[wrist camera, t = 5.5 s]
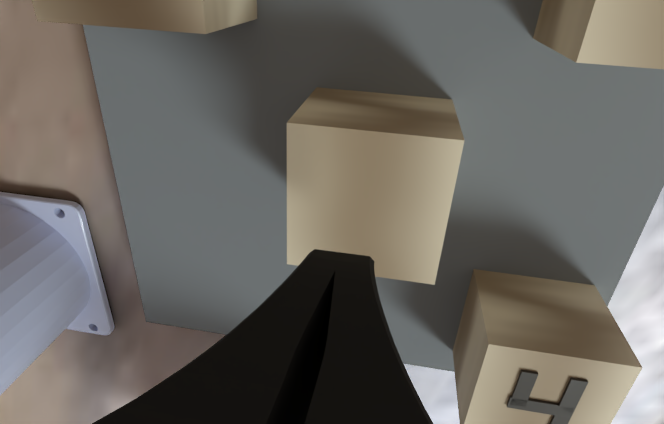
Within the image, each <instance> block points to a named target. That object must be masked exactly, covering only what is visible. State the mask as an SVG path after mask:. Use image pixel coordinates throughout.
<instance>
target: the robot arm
mask: <svg viewBox="0 0 664 424" xmlns="http://www.w3.org/2000/svg"><path fill="white" fill-rule="evenodd" d="M61 210H63V211H64V212H62V211H61ZM114 328H115V326H114V322H113V318H112V314H111V310H110V307H109V303H108V299H107V295H106V291H105V288H104V284H103V280H102V276H101V272H100V269H99V265H98V261H97V257H96V253H95V250H94V246H93V242H92V238H91V234H90V230H89V227H88V223H87V219H86V215H85V212H84V210H83V208H82V207H81V205H79V204H78V203H76V202H73V201H67V200H59V199H52V198H44V197H36V196H29V195H21V194H13V193H5V192H0V395H1V394H2V393H3V392H4V391H5V390H6V389H7V388H8V387H9V386H10V385H11V384H12V383H13V382H14V381H15V380H16V379H17V378H18V377H19V376H20V375H21V374H22V373H23V372H24V371H25V370H26V369H27V368H28V367H29V366H30V365H31V364H32V363H33V362H34V360H35V359H36V358H37V357H38V356H39V355H40V354H41V353H42V352H43V351H44V350H45V349H46V348H47V347H48V346H49V345H50V344H51V343H52V342H53V341H54V340H55V339H56V338H57V337H58V336H59V335H60V334H61V333H62V332H63V331H64V330H65V329H70V330H76V331H82V332H88V333H93V334H99V335H109V334H111V332H112V331H113V330H114ZM92 424H433V422H432V421H431V419H430V417H429V415H428V413H427V412H426V410H425V408H424V406H423V404H422V402H421V400H420V398H419V396H418V394H417V392H416V390H415V388H414V386H413V384H412V382H411V380H410V378H409V376H408V373H407V371H406V369H405V367H404V365H403V362H402V360H401V357H400V355H399V353H398V350H397V348H396V345H395V343H394V340H393V337H392V335H391V332H390V329H389V326H388V323H387V320H386V317H385V314H384V311H383V308H382V305H381V301H380V297H379V293H378V289H377V285H376V279H375V272H374V260H373V259H372V258H371V257H370V256H365V255H357V254H349V253H341V252H333V251H326V250H318V249H314V250H313V251H311V252H310V253H309V254H308V255H307V256H306V258H305V259H304V260H303V261H302V262H301V263H300V265H299V266H298V267H297V268H296V269H295V270H294V271H293V272H292V273H291V275H290V276H289V277H288V278H287V279H286V280H285V281H284V282H283V283H282V284H281V285H280V286H279V287H278V288H277V289H276V290H275V291H274V292H273V293H272V294H271V295H270V296H269V297H268V298H267V299H266V300H265V301H264V302H263V303H262V304H261V305H260V306H259V307H258V308H257V309H256V310H254V311H253V312H252V313H251V314H250V315H249V316H248V317H246V318H245V319H244V320H243V321H242V322H241V323H240V324H238V325H237V326H236V327H235V328H234V329H233V330H232V331H230V332H229V333H228V334H227V335H226V336H224V337H223V338H222V339H221V340H219V341H218V342H217V343H216V344H214V345H213V346H212V347H211V348H209V349H208V350H207V351H205V352H204V353H203V354H201V355H200V356H199V357H197V358H196V359H194V360H193V361H192V362H190V363H189V364H188V365H186V366H185V367H183V368H182V369H180V370H179V371H177V372H176V373H174V374H173V375H171V376H170V377H168V378H167V379H165V380H164V381H162V382H161V383H159V384H158V385H156V386H155V387H153V388H152V389H150V390H149V391H147V392H146V393H144V394H142V395H141V396H139V397H138V398H136V399H134V400H133V401H131V402H129V403H128V404H126V405H124V406H123V407H121V408H119V409H117V410H115V411H114V412H112V413H110V414H108V415H107V416H105V417H103V418H101V419H99V420H98V421H96V422H94V423H92Z"/></svg>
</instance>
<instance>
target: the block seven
mask: <svg viewBox="0 0 664 424" xmlns="http://www.w3.org/2000/svg"><path fill="white" fill-rule="evenodd" d="M533 39H535V40H536V41H538V42H540V43H542V44H544V45H545V46H547V47H549V48H551V49H553V50H554V51H556V52H558V53H560V54H562V55H563V56H565V57H567V58H569V59H571V60H572V61H574V62H576V63H587V64H600V65H613V66H626V67H639V68H652V69H664V0H543V2H542V5H541V9H540V13H539V17H538V21H537V25H536V29H535V33H534V37H533Z"/></svg>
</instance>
